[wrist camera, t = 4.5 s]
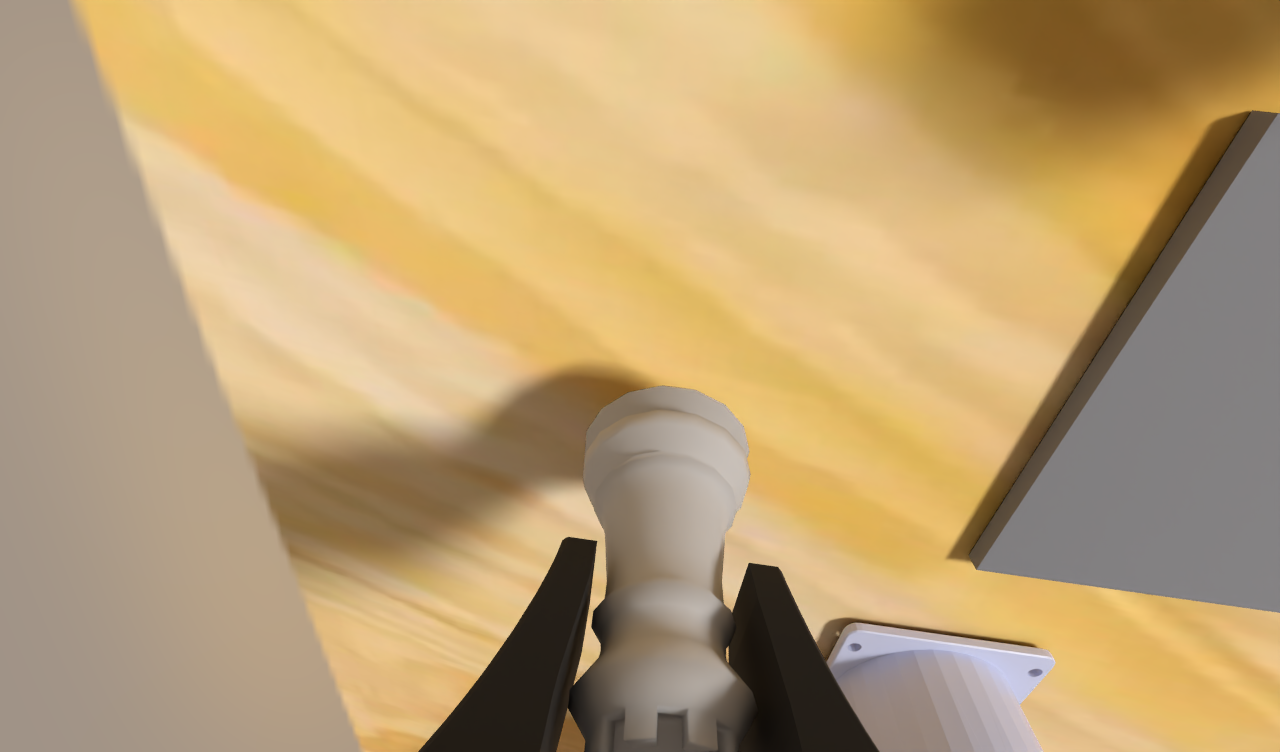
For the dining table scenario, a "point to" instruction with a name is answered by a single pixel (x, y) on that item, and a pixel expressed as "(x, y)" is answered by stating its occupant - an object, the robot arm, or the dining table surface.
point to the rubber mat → (1173, 417)
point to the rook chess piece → (664, 576)
